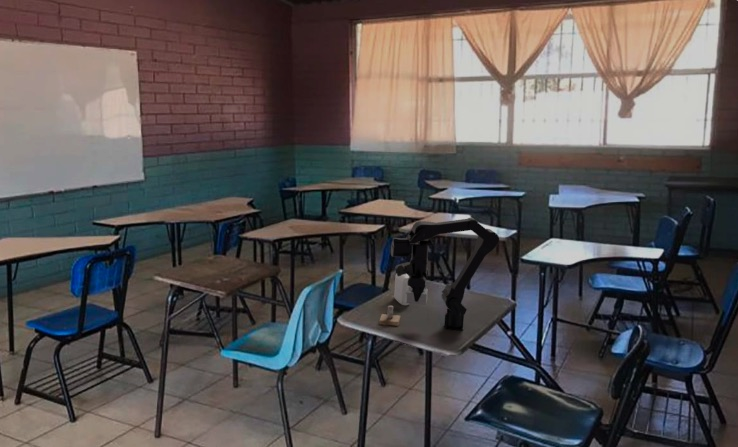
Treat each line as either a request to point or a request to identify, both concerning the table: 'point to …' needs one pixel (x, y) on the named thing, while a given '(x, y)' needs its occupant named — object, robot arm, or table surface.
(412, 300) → the hollow square frame
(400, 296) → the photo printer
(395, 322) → the tan knobbed plate
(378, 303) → the table surface
